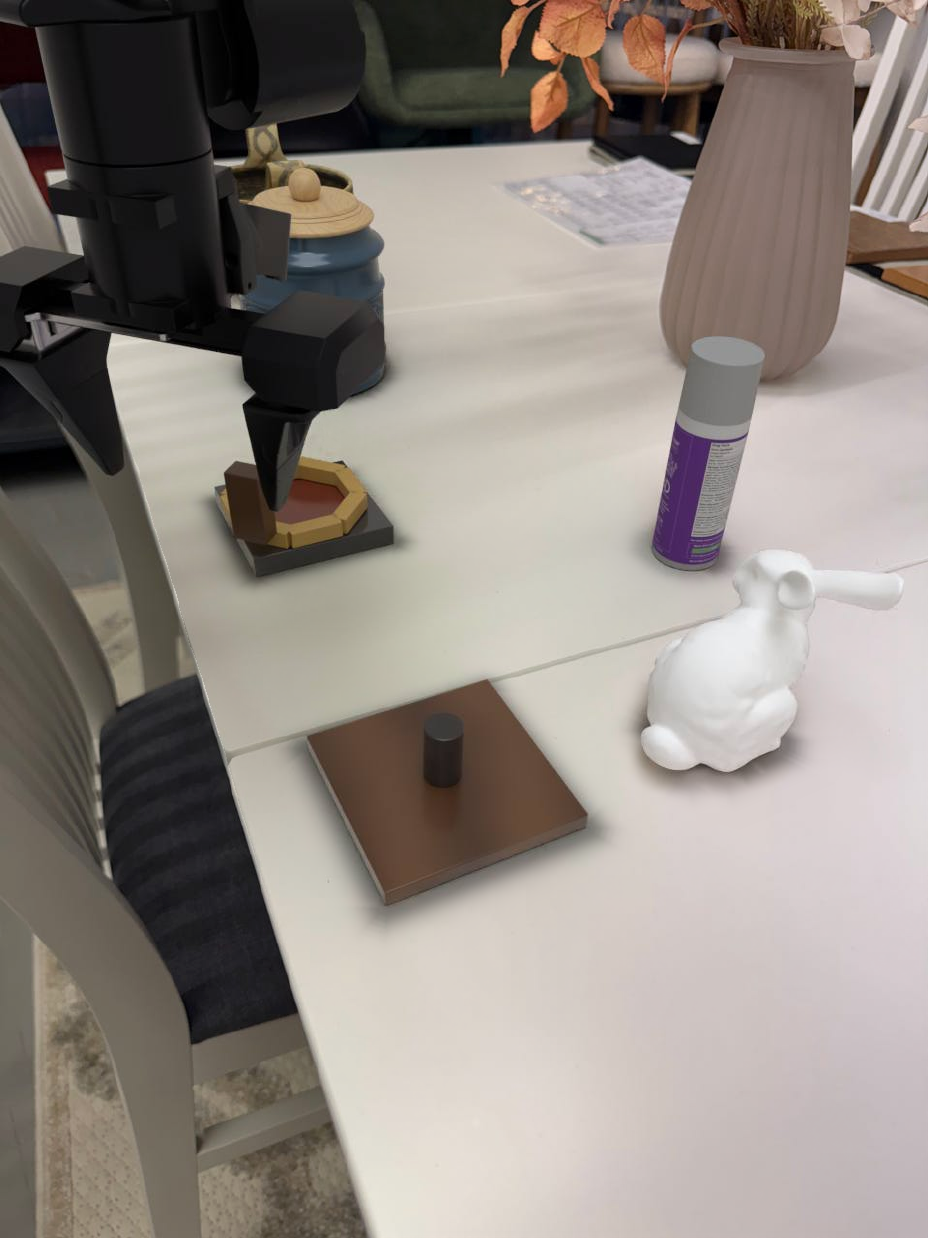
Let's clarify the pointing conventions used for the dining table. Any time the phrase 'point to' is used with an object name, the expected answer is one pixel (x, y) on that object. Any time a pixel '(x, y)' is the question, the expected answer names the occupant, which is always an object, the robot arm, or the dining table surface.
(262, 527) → the ring
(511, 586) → the dining table surface
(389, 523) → the stove
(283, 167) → the ceramic bowl
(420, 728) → the brown peg base
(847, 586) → the rabbit
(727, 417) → the container
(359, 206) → the canister
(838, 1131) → the dining table surface
